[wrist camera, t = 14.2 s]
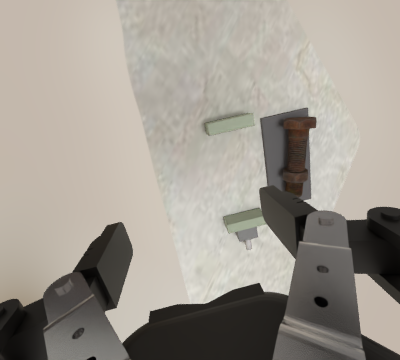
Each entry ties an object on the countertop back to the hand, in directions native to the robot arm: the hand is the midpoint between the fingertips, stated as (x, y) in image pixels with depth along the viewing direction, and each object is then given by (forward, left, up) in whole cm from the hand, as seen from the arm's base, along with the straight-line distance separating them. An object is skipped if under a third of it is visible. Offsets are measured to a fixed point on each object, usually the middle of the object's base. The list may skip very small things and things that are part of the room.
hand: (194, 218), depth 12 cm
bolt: (+7, +20, -28) cm, 35 cm away
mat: (+8, +20, -28) cm, 35 cm away
